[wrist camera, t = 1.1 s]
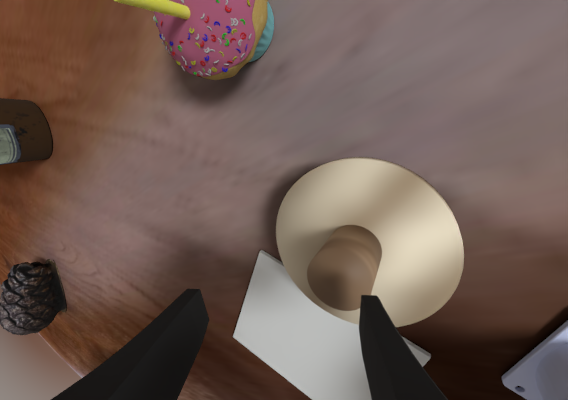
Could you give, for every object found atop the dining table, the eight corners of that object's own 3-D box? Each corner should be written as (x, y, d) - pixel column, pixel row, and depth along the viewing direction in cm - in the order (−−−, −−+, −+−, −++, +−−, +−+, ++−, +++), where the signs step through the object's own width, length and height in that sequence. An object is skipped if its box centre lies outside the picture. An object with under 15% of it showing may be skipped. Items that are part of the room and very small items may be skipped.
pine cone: (58, 259, 54) (-10, 285, 45) (74, 321, 60) (17, 354, 52) (35, 243, 58) (-32, 264, 49) (51, 303, 64) (-4, 330, 56)
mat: (430, 353, 20) (430, 357, 20) (360, 432, 26) (359, 436, 26) (261, 249, 26) (259, 251, 26) (234, 334, 32) (232, 336, 32)
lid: (511, 209, 13) (554, 252, 9) (400, 348, 18) (394, 417, 14) (310, 129, 17) (273, 132, 13) (266, 262, 22) (229, 296, 18)
